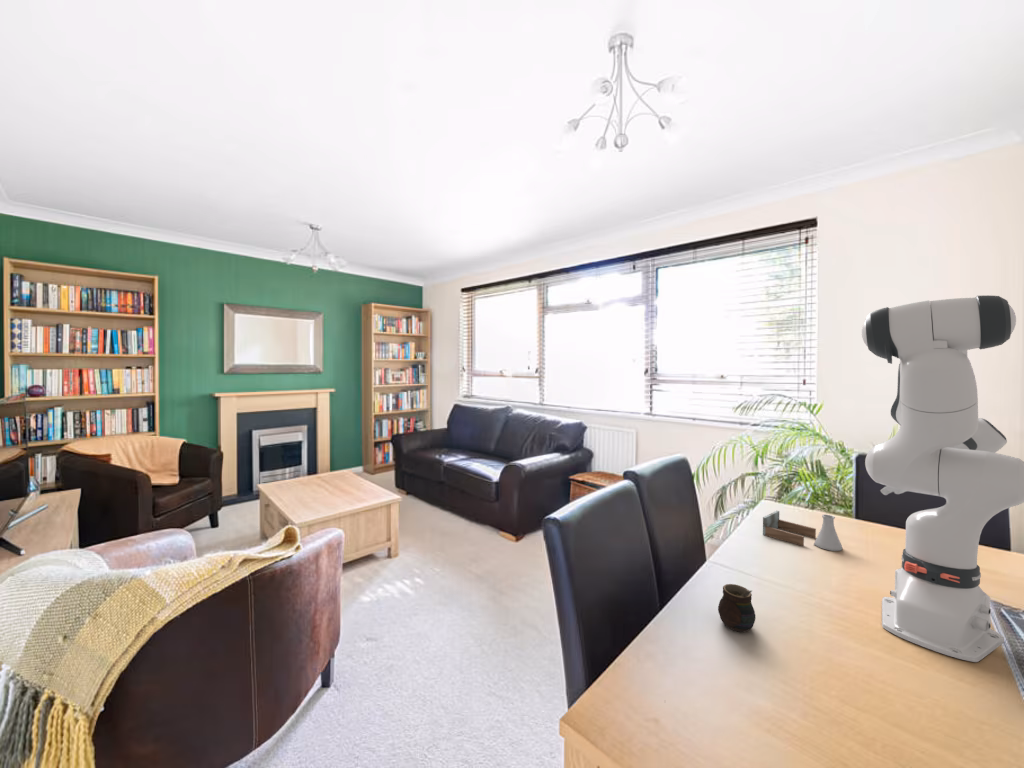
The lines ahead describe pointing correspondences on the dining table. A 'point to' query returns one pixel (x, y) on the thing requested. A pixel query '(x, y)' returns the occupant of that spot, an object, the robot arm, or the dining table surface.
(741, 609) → the mate gourd
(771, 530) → the slot bay
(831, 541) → the flask
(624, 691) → the dining table surface
